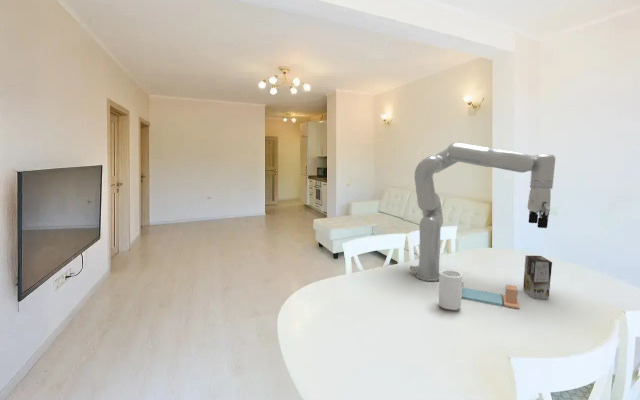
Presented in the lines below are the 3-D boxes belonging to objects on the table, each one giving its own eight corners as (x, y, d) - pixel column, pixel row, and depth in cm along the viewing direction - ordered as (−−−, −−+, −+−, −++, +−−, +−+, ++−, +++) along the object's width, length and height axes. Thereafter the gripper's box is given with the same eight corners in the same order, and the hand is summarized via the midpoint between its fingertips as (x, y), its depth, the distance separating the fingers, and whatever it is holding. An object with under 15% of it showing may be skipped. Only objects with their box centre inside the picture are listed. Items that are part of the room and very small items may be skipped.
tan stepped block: (504, 306, 119) (505, 291, 118) (502, 296, 128) (503, 282, 127) (519, 308, 117) (520, 293, 116) (516, 298, 126) (517, 284, 125)
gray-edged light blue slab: (453, 298, 126) (454, 291, 126) (455, 287, 138) (456, 280, 137) (503, 308, 118) (504, 300, 118) (501, 295, 129) (502, 288, 129)
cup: (460, 304, 121) (462, 270, 119) (462, 314, 113) (464, 278, 111) (437, 301, 124) (438, 268, 122) (438, 311, 116) (439, 275, 114)
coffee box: (549, 299, 125) (553, 262, 123) (532, 298, 126) (535, 261, 124) (538, 290, 134) (541, 255, 132) (522, 289, 135) (525, 254, 133)
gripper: (523, 183, 133) (520, 220, 136) (539, 186, 117) (535, 229, 119) (543, 183, 131) (539, 221, 133) (562, 186, 115) (557, 230, 117)
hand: (537, 225), depth 126 cm, fingers open, 9 cm apart
